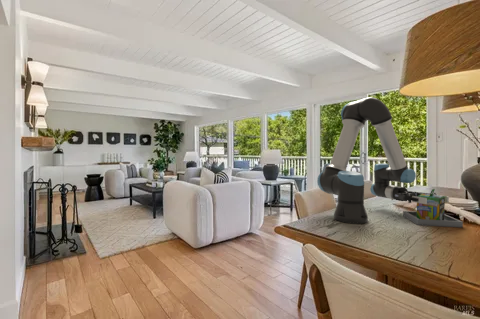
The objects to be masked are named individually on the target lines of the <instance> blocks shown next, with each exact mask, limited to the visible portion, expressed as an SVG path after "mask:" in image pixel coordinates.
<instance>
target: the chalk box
mask: <svg viewBox="0 0 480 319" xmlns="http://www.w3.org/2000/svg"><path fill="white" fill-rule="evenodd" d="M429 193H430V194H420V195H418V196H417V197H423V198H427V204H422V203H417V202H416V211H417V218H418V219H427V220H444V214H445V206H446V202H445V196H446V195H442V196H439V195H440V194H437V195H433V194H434V193H435V188H433V189H431V191H430V192H429Z"/></svg>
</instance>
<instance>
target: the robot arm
mask: <svg viewBox="0 0 480 319" xmlns="http://www.w3.org/2000/svg"><path fill="white" fill-rule="evenodd" d="M340 116H341V120H342V121H341V123H342V124H343V125H342V126H343V127H342V129H341V132H340V135H339V137H338V140H337V144H336V146H335V149H334V150H333V151H334V152H333V155H332V158H331V160H330V163H329V164H328V165H326V166H325V168H324V171H322V172H320V173H319V175H318V177H317V181H316V182H317V185H318V188H319V190H321V191H322V192H325V193H326V194H330V195H331V194H332V195H333V196H337V204H336V207H335V209H334V213H333V219H334V220H336V221H338V222H341V223H347V224H364V223H365V224H366V223H368V221H369V216H368V213H367V211H366V207H365V202H364V201H365V180H364V179H365V178H364V175H363V173H360V172H358V171H353V170H347V169H348V168H347V167H348V165H349V162H350V160H351V159H350V158H351V155H352V152H353V150H354V147H355V144H356V141H357V138H358V136H359V133H360V130H361V129H363V128H364V127H365V124H366V121H369V122H370V124H371V126H373V127H374V129H375V131H376V134H377V137H378V139H379V141H380V144H381V147H382V150H383V152H384V155H385V157H386V160H387V163H375V164H374V165H373V168H374V170H373V172H374V173H373V176H374V183H372V184H371V185H370V186H371V187H370V189H369V190H370V193H371V195H373V196H376V197H379V198H383V199H384V198H385V199H389V200H391V201H399V202H408V203H409V204H411V203H412V202H413V203H416V204H417V203H422V204H427V198H423V197H417V196H418V195H420V194H430V193H431V192H429V193H428V192H420V191H412V190H408V189H407V188H406V187H404V186H398V185H392V184H390V183H391V182H395V183H401V184H411V183H413V182H415V180H416V178H417V175H416V174H417V173H416V171H415V170H414V169H412V168H409V167H408V165H407V162H406V159H405V157H404V153H403V151H402V148H401V146H400V143H399V140H398V138H397V134H396V132H395V129H394V126H393V123H392V120H393V117H392V114H391V111H390V110H389V108H388V106H387V105H386V104H385V103H384V102H383V101H382V100H380V99H379V98H376V97H372V96H371V97H366V98H361V99H358V100H355V101H349V103H346V104H345V105H344V106H343V107H342V109H341V110H340ZM433 195H439V196H443V195H440V194H438V193H437V192H434V193H433ZM444 196H445V203H449V202H450V200H449V199H450V196H448V195H444Z"/></svg>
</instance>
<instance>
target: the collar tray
mask: <svg viewBox="0 0 480 319" xmlns="http://www.w3.org/2000/svg"><path fill="white" fill-rule="evenodd" d="M402 217H405V218H406V219H408V220H409V221H411V222H412V223H414V224H416V225H417V226H424V227H425V226H426V227H427V226H428V227H429V226H430V227H445V228H446V227H448V228H464V227H463V225H464V224H463V223H464V221H462V220H460V219H458V218H454V217H453V216H450V215H448V214H446V213H444V220H427V219H418V218H417V210H416V211H415V210H414V211H413V210H411V211H409V210H402Z"/></svg>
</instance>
